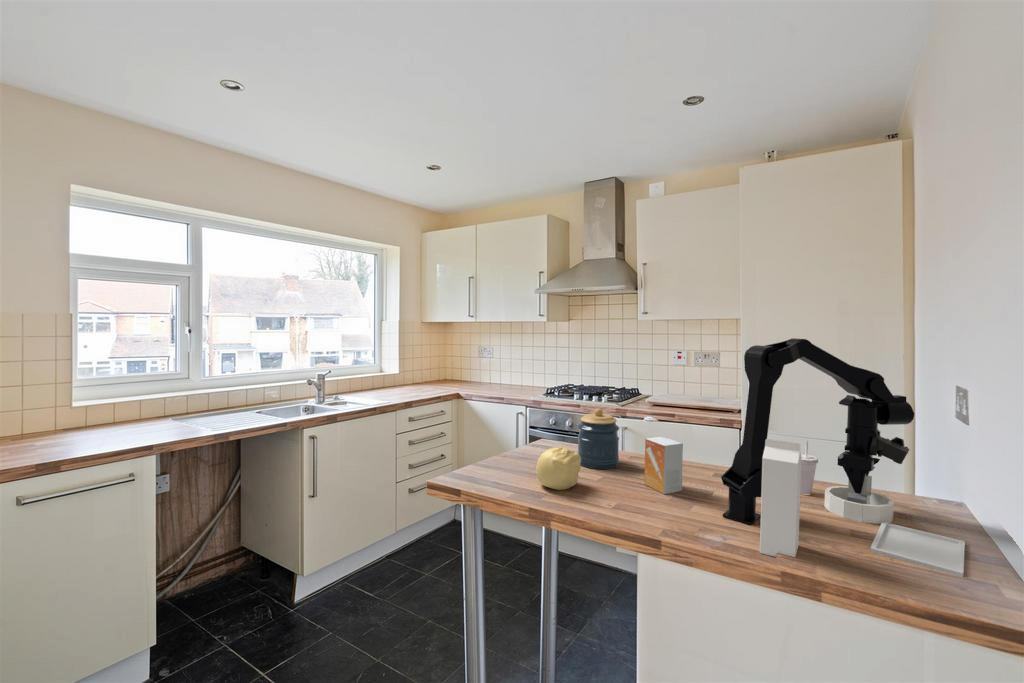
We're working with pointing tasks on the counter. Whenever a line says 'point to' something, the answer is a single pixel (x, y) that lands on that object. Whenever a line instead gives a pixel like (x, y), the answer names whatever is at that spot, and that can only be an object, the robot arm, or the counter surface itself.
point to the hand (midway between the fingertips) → (859, 490)
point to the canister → (598, 441)
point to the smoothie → (807, 471)
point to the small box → (663, 464)
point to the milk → (780, 498)
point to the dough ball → (558, 468)
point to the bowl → (859, 506)
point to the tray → (920, 548)
